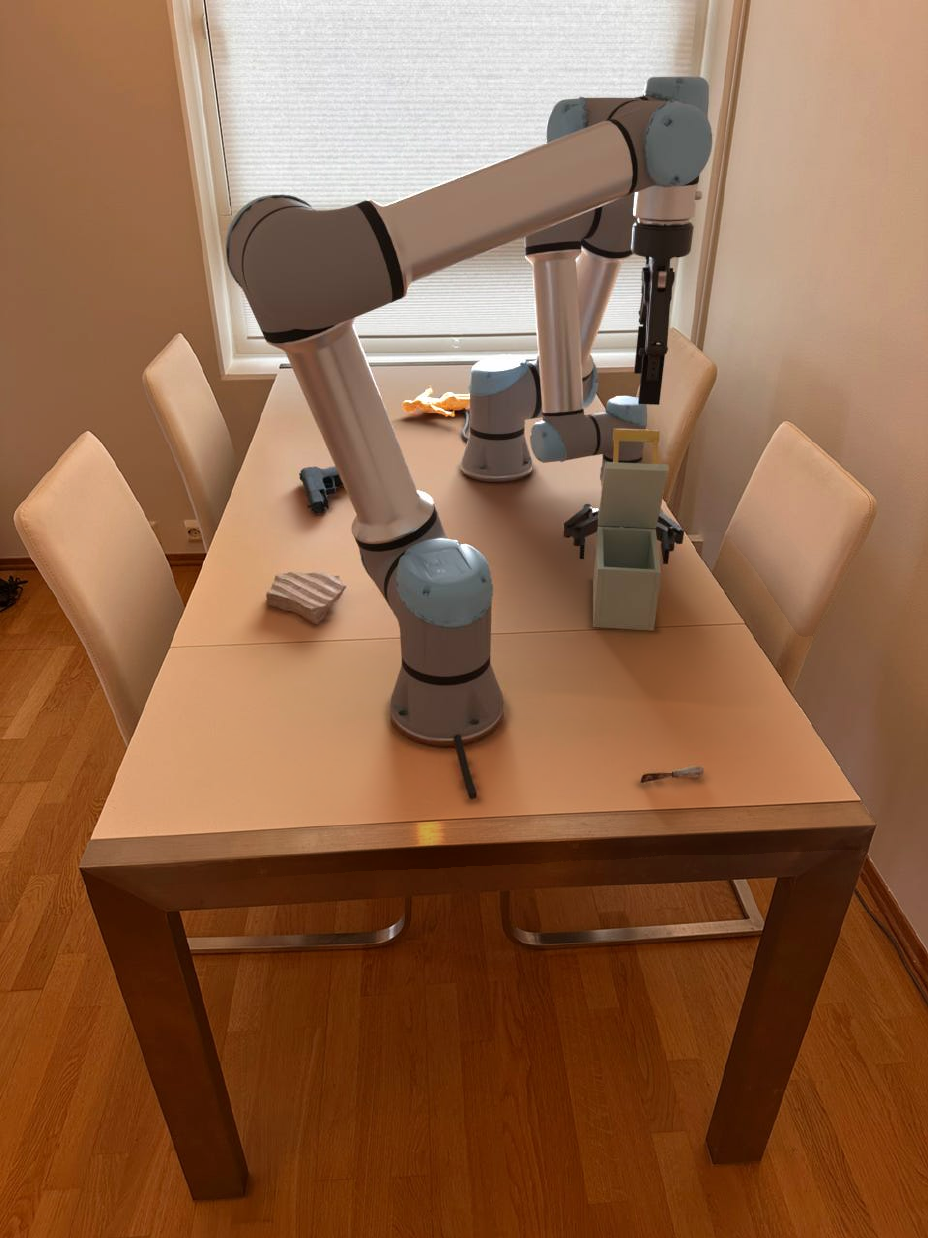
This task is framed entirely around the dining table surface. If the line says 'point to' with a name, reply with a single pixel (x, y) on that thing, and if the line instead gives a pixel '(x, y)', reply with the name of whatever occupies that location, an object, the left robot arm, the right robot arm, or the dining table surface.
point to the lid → (632, 485)
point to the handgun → (319, 486)
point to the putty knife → (674, 774)
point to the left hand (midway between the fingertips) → (646, 387)
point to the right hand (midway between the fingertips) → (624, 554)
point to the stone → (305, 593)
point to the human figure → (437, 403)
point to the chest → (626, 578)
